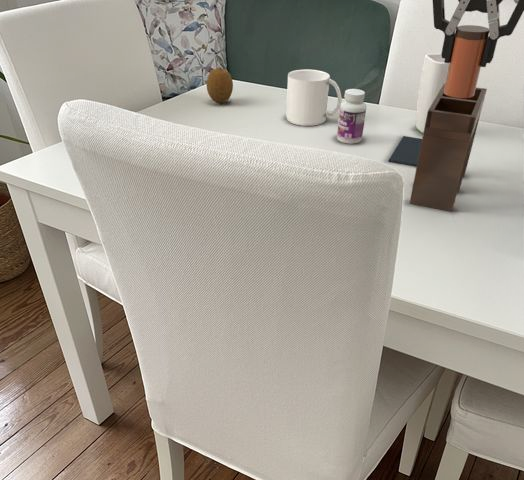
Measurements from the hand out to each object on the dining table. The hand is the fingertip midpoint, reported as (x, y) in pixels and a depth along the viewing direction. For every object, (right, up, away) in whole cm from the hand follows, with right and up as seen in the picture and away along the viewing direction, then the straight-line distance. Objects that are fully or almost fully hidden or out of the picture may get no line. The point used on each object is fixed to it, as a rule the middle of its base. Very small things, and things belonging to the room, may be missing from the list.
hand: (465, 63), depth 86 cm
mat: (0, -3, +30) cm, 30 cm away
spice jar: (0, -3, +3) cm, 4 cm away
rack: (+1, -14, +17) cm, 22 cm away
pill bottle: (-12, +1, +34) cm, 37 cm away
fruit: (-41, +16, +51) cm, 68 cm away
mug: (-19, +9, +43) cm, 48 cm away
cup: (+6, +4, +39) cm, 39 cm away
